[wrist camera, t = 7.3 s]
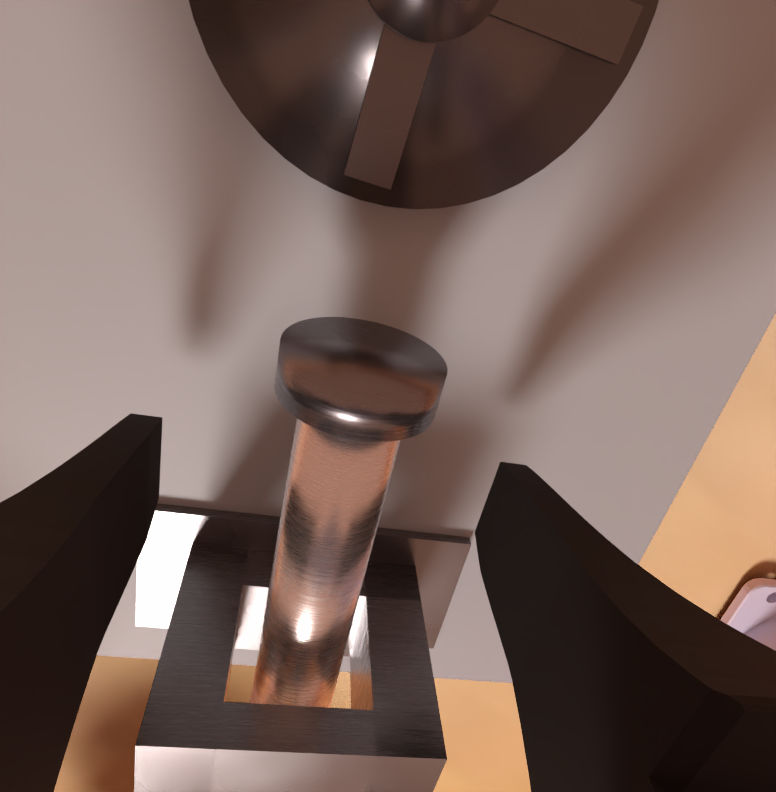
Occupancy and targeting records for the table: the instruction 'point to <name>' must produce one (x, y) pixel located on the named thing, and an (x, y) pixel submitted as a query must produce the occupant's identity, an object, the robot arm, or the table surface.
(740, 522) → the table surface
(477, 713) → the table surface
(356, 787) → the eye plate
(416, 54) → the handwheel
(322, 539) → the headed rod
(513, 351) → the board
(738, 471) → the table surface
